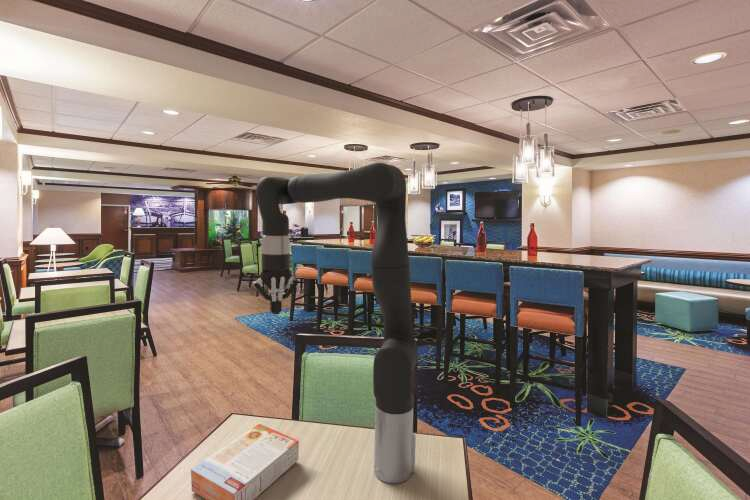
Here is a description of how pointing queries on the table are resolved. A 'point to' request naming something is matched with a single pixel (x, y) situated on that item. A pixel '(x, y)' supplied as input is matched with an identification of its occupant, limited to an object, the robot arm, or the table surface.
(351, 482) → the table surface
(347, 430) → the table surface
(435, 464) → the table surface
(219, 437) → the table surface
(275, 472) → the cracker box
